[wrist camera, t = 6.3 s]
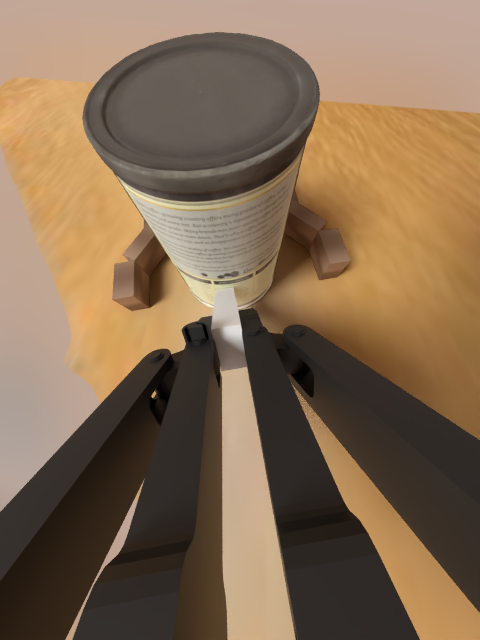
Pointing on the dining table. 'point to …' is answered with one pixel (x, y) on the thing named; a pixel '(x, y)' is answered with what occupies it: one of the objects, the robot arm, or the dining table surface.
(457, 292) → the dining table surface
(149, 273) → the brown wooden frame
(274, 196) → the coffee can
